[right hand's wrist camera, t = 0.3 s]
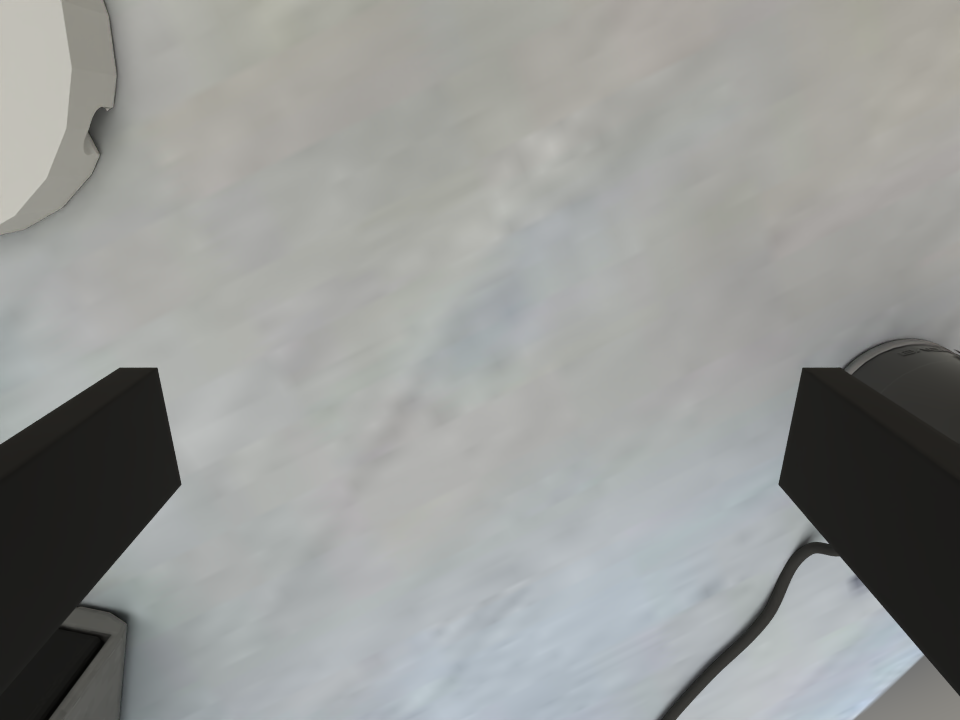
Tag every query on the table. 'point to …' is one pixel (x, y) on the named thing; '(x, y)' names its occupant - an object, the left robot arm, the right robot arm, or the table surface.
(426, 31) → the table surface
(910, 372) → the left robot arm
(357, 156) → the table surface
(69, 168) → the ashtray
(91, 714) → the cooler box
